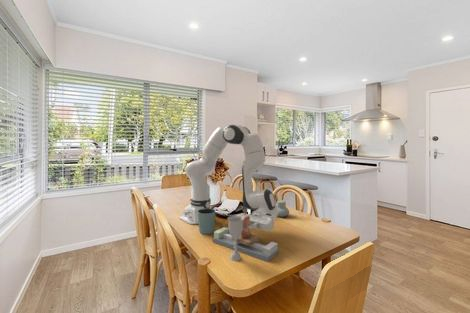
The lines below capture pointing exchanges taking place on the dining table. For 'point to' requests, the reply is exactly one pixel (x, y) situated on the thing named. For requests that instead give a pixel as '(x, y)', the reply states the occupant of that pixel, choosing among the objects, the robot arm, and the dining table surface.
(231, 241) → the rail board
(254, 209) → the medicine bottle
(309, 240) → the dining table surface
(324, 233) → the dining table surface
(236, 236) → the chalice
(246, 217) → the carriage
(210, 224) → the teal cup
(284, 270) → the dining table surface
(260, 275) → the dining table surface
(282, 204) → the grey rounded piece
